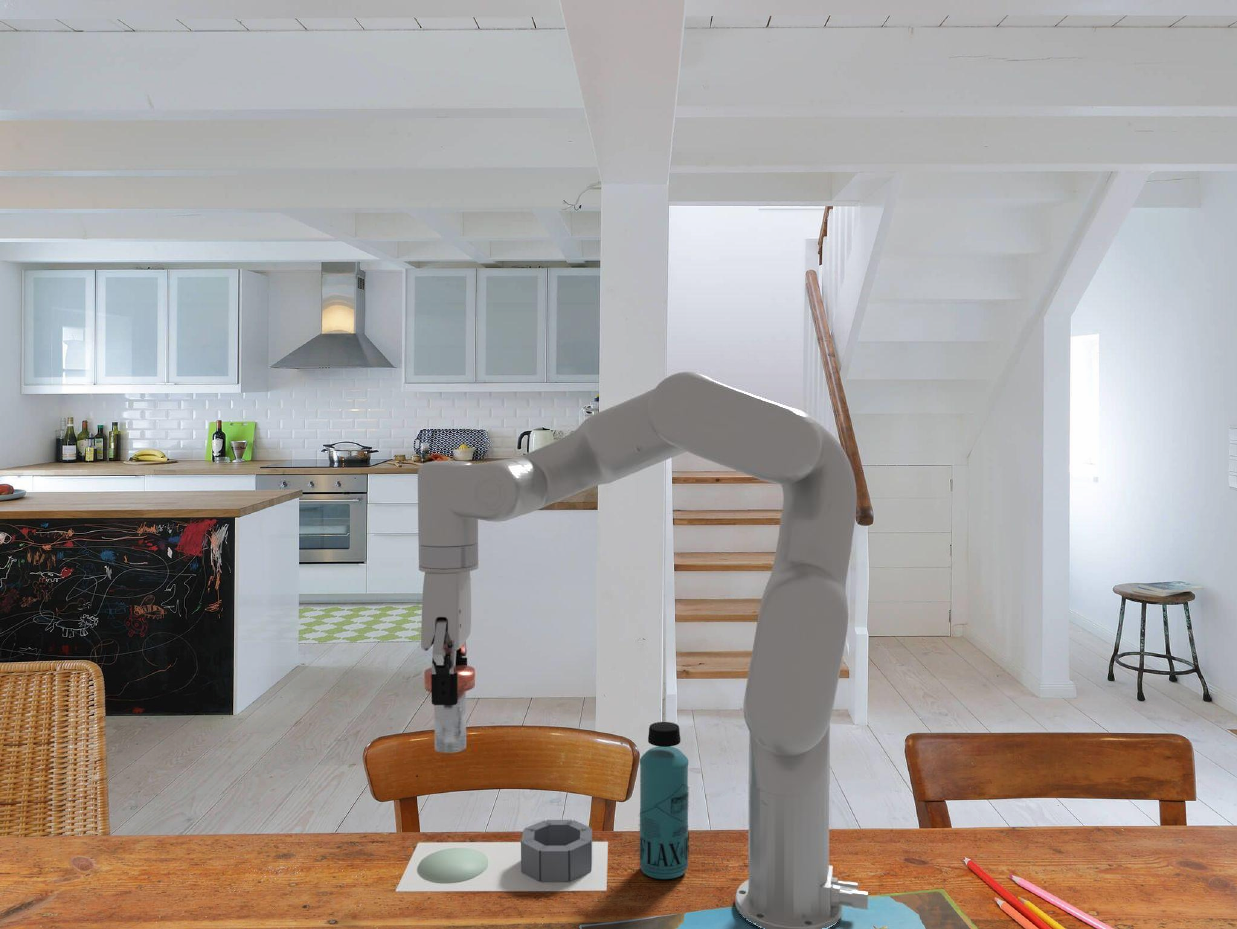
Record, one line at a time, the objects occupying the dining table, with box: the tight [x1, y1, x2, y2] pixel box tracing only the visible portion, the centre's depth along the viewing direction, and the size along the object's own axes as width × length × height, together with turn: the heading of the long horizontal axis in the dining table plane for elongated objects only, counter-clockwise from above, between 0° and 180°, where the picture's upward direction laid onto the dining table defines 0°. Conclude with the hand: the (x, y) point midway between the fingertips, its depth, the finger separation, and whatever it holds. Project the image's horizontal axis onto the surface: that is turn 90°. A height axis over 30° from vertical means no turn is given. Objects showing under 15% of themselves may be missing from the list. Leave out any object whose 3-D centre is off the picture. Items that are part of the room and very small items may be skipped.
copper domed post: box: [423, 664, 476, 754], centre depth 118 cm, size 6×6×10 cm
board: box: [395, 819, 609, 893], centre depth 119 cm, size 26×13×5 cm, turn 90°
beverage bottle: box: [638, 721, 690, 880], centre depth 117 cm, size 6×7×20 cm
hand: (450, 694), depth 118 cm, fingers closed on copper domed post, 6 cm apart
